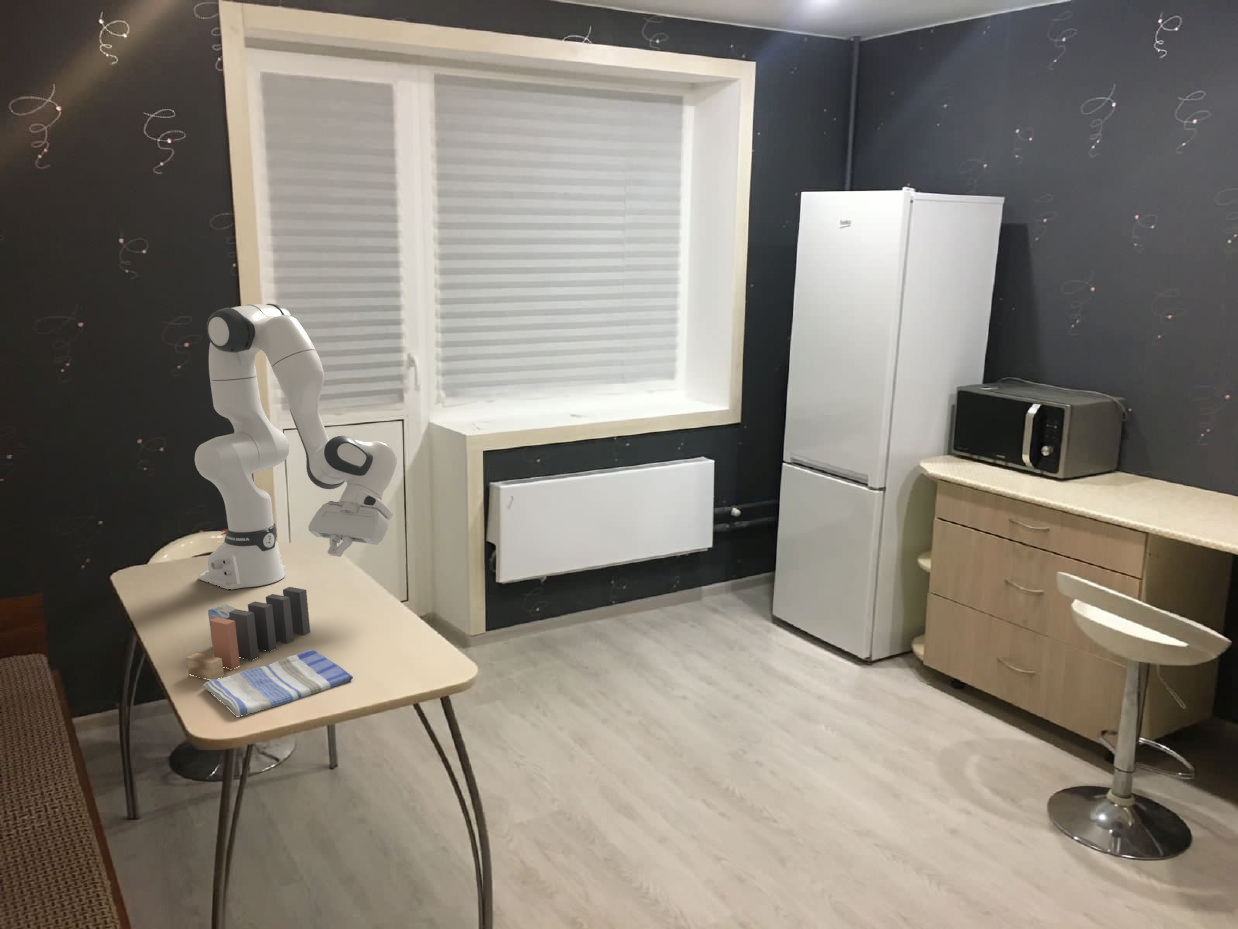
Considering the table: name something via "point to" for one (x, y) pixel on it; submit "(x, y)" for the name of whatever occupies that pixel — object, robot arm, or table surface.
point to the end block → (205, 666)
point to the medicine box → (220, 612)
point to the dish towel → (277, 682)
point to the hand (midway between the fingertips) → (333, 555)
